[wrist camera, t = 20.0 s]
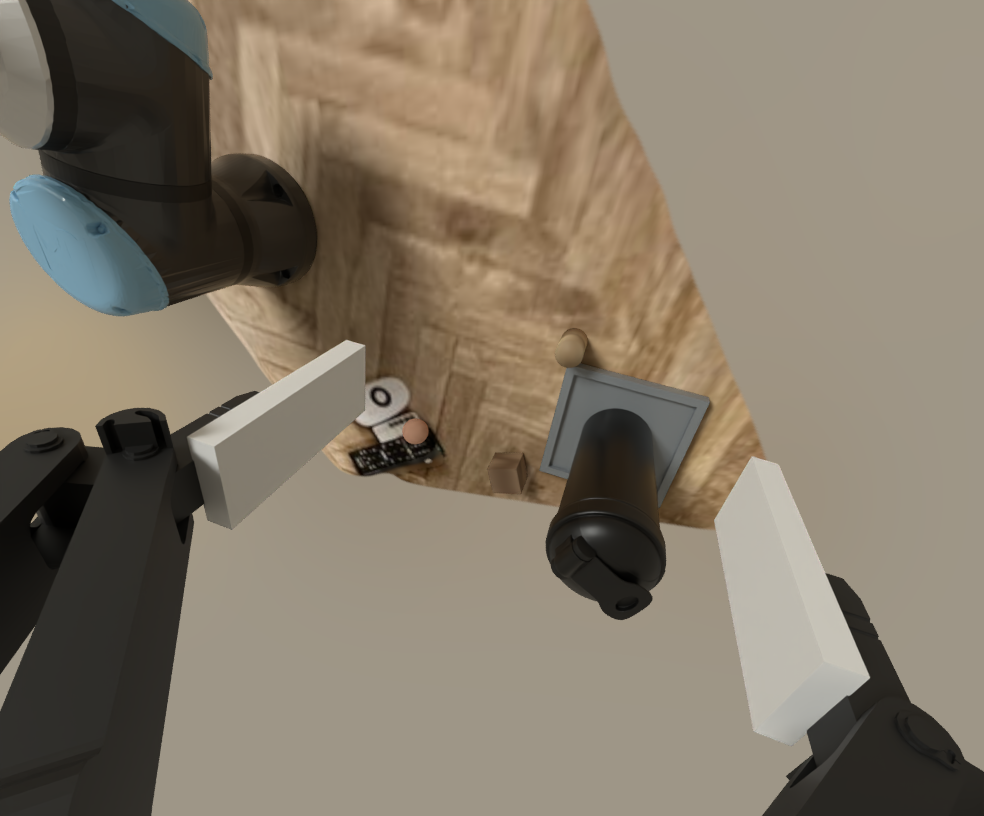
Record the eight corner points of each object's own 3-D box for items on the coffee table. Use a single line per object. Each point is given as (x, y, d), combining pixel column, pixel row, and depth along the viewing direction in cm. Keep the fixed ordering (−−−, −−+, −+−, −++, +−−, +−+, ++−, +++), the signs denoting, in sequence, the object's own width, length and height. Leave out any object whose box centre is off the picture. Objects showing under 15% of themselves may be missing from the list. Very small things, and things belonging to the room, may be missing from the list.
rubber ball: (408, 431, 65) (397, 444, 62) (410, 410, 63) (398, 423, 60) (431, 438, 65) (421, 452, 62) (433, 418, 63) (422, 431, 60)
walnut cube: (500, 475, 64) (492, 493, 61) (495, 452, 63) (487, 468, 59) (527, 476, 63) (521, 494, 60) (523, 452, 61) (516, 469, 58)
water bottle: (623, 485, 58) (612, 646, 39) (558, 441, 58) (515, 582, 39) (678, 434, 53) (697, 593, 33) (607, 386, 52) (585, 517, 33)
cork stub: (558, 349, 53) (552, 363, 49) (564, 325, 51) (558, 338, 47) (583, 355, 52) (578, 371, 48) (590, 332, 51) (586, 345, 47)
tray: (541, 465, 61) (539, 470, 60) (569, 360, 53) (567, 364, 52) (659, 501, 58) (659, 507, 57) (708, 397, 50) (709, 402, 49)
